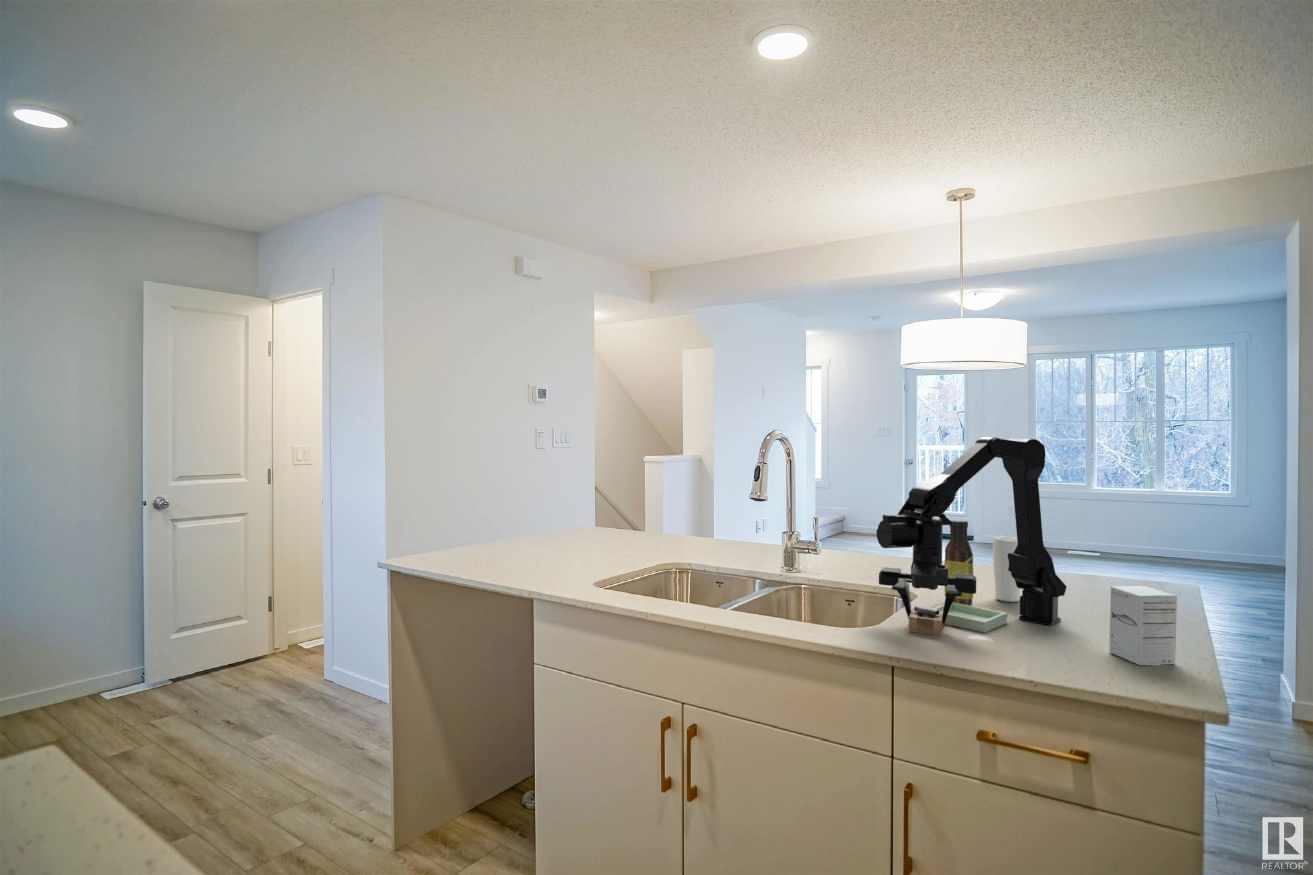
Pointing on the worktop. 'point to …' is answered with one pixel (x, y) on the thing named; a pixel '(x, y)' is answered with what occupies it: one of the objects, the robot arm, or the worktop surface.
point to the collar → (925, 623)
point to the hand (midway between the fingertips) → (926, 621)
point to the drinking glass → (1004, 569)
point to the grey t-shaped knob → (926, 611)
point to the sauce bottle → (959, 556)
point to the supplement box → (1143, 625)
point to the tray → (973, 617)
